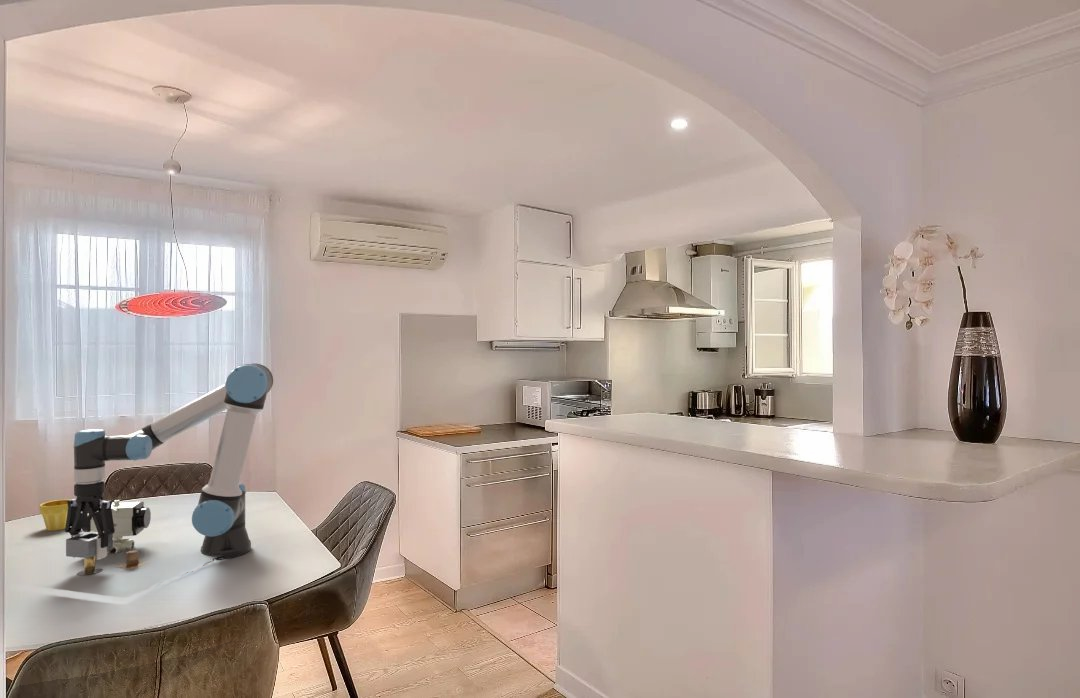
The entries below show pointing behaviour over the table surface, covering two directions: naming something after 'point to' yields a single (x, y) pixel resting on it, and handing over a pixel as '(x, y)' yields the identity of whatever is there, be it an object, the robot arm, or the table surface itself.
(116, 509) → the ball valve
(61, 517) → the plant pot
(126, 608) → the table surface
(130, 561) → the brown knob on base
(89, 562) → the door knob
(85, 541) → the grey square box
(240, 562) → the table surface
